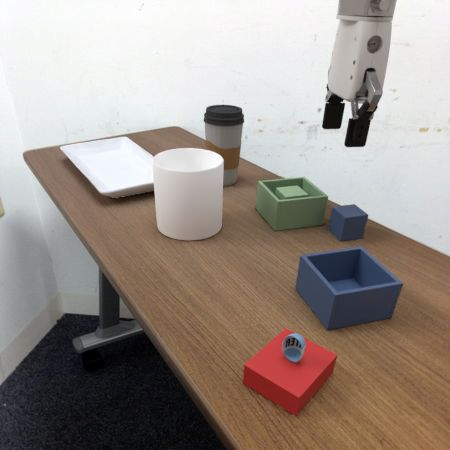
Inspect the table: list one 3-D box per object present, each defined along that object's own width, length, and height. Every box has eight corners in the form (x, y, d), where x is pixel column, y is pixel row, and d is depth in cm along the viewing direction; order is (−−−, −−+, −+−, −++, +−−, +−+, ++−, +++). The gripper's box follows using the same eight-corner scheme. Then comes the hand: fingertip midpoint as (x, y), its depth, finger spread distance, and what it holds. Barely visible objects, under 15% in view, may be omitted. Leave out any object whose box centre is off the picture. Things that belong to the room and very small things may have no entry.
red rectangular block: (282, 345, 52) (289, 304, 48) (332, 372, 48) (343, 330, 45) (242, 382, 47) (246, 340, 43) (295, 416, 43) (304, 372, 40)
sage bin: (300, 203, 86) (304, 176, 82) (323, 224, 78) (328, 196, 75) (255, 208, 83) (257, 180, 80) (274, 231, 76) (277, 201, 73)
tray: (102, 208, 81) (100, 191, 79) (61, 159, 103) (58, 144, 101) (182, 192, 89) (181, 176, 86) (127, 149, 110) (126, 135, 108)
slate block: (349, 226, 78) (354, 203, 75) (362, 238, 75) (368, 214, 72) (327, 229, 77) (332, 206, 74) (340, 241, 74) (345, 217, 71)
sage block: (294, 207, 83) (297, 185, 80) (305, 217, 79) (308, 194, 77) (273, 209, 82) (275, 187, 79) (282, 220, 78) (285, 197, 76)
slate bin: (353, 278, 64) (361, 246, 61) (391, 317, 57) (403, 283, 54) (295, 288, 62) (300, 254, 58) (327, 330, 54) (335, 295, 51)
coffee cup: (248, 183, 93) (253, 111, 85) (217, 191, 90) (218, 115, 81) (227, 172, 99) (229, 102, 90) (196, 178, 95) (195, 106, 86)
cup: (228, 238, 73) (230, 169, 66) (160, 243, 71) (155, 173, 64) (215, 209, 82) (216, 146, 75) (154, 213, 80) (149, 149, 73)
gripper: (425, 11, 51) (389, 154, 62) (365, 5, 65) (343, 122, 75) (367, 10, 50) (340, 155, 61) (318, 3, 64) (303, 123, 74)
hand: (342, 137), depth 68 cm, fingers open, 9 cm apart
